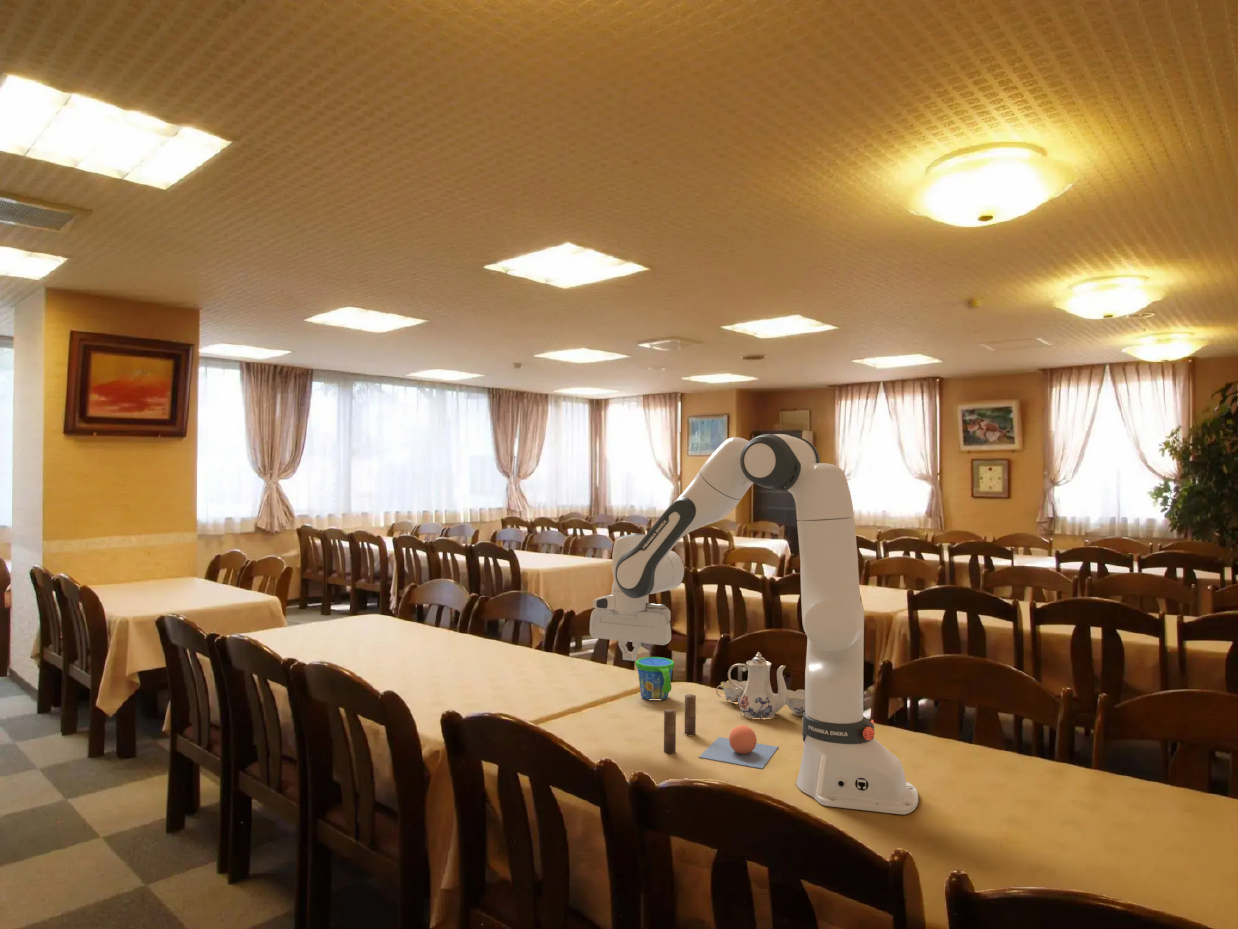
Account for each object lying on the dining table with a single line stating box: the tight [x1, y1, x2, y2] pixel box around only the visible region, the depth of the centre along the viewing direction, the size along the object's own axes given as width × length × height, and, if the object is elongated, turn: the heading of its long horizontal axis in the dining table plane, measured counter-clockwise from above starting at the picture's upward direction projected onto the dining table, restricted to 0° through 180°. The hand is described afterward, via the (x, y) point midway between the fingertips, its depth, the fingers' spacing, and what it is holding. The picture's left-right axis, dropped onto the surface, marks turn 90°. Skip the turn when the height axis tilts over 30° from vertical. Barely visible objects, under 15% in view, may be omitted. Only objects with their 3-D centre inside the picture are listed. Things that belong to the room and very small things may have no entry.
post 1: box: [663, 708, 677, 755], centre depth 163 cm, size 3×3×9 cm
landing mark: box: [698, 736, 779, 770], centre depth 163 cm, size 14×14×1 cm
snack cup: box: [635, 656, 675, 700], centre depth 204 cm, size 16×10×10 cm
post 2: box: [684, 693, 697, 736], centre depth 175 cm, size 3×3×9 cm
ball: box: [728, 725, 758, 754], centre depth 162 cm, size 6×6×6 cm
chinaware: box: [716, 651, 805, 719], centre depth 193 cm, size 28×17×17 cm, turn 64°
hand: (629, 660), depth 175 cm, fingers closed
